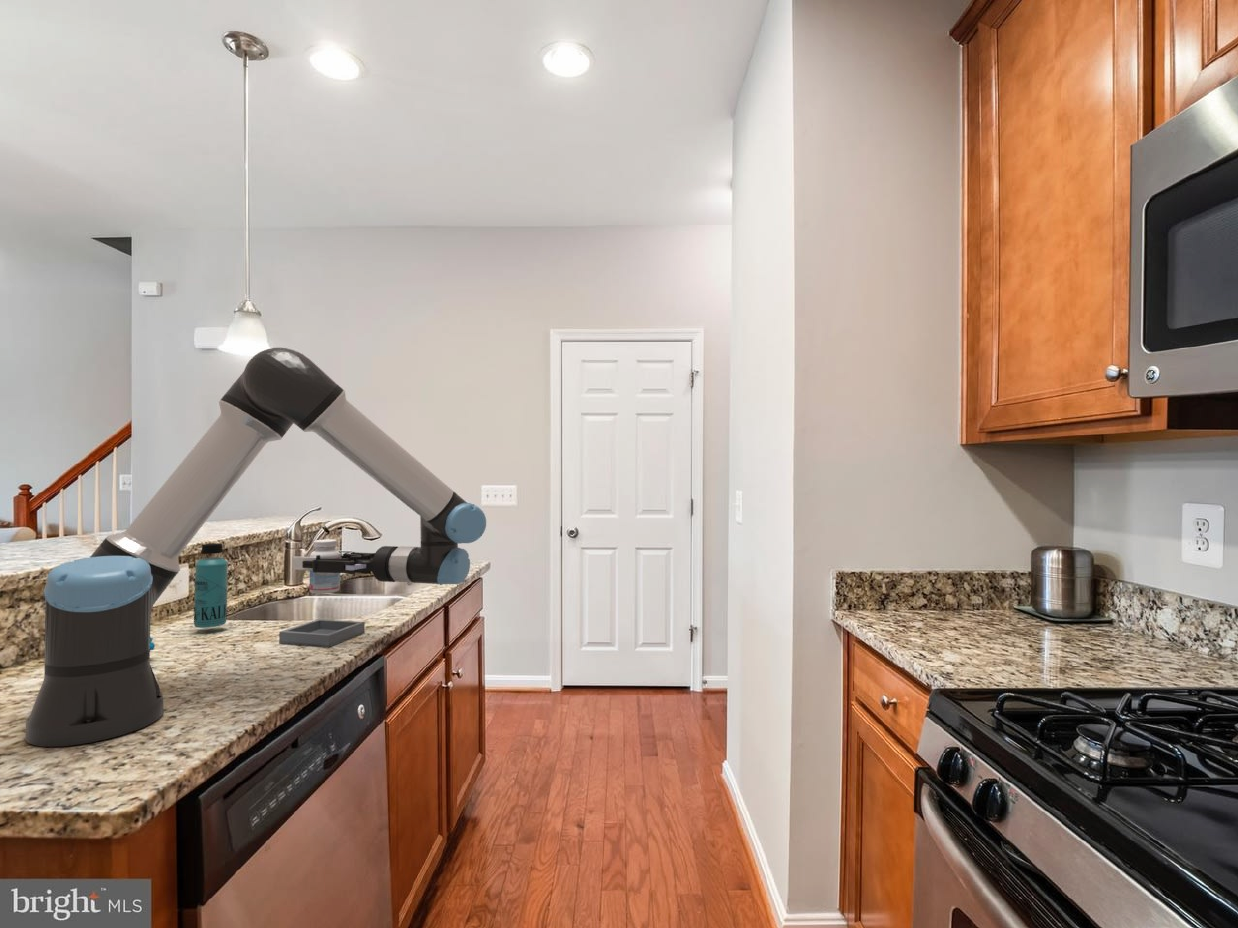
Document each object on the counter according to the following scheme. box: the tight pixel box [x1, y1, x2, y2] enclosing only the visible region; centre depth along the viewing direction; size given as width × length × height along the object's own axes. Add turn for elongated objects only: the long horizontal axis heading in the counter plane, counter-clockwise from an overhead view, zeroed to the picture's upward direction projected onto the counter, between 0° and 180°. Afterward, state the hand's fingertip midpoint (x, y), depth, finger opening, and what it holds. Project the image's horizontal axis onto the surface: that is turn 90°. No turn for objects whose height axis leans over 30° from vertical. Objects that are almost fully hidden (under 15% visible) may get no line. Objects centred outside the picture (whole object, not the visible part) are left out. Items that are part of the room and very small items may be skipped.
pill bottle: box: [308, 538, 341, 595], centre depth 136 cm, size 6×6×11 cm
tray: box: [278, 618, 366, 649], centre depth 136 cm, size 12×12×2 cm
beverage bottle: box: [192, 542, 229, 629], centre depth 142 cm, size 6×7×20 cm
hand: (304, 560), depth 138 cm, fingers closed on pill bottle, 6 cm apart
